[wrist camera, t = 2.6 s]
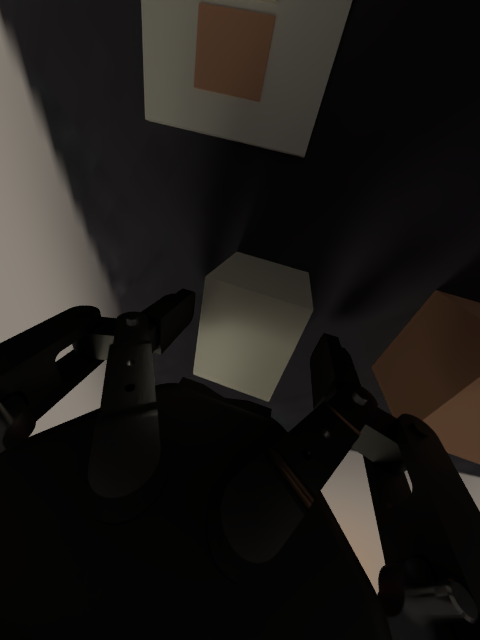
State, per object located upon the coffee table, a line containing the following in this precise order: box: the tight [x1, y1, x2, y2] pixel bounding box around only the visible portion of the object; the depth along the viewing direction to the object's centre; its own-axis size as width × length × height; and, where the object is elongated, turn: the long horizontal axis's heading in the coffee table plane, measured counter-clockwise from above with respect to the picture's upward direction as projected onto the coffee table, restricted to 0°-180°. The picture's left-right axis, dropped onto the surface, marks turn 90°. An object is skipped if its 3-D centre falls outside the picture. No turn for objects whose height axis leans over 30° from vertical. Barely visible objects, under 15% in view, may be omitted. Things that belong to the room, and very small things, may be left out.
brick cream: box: [193, 252, 313, 402], centre depth 12 cm, size 6×4×5 cm
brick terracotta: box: [372, 290, 480, 464], centre depth 10 cm, size 6×4×5 cm
